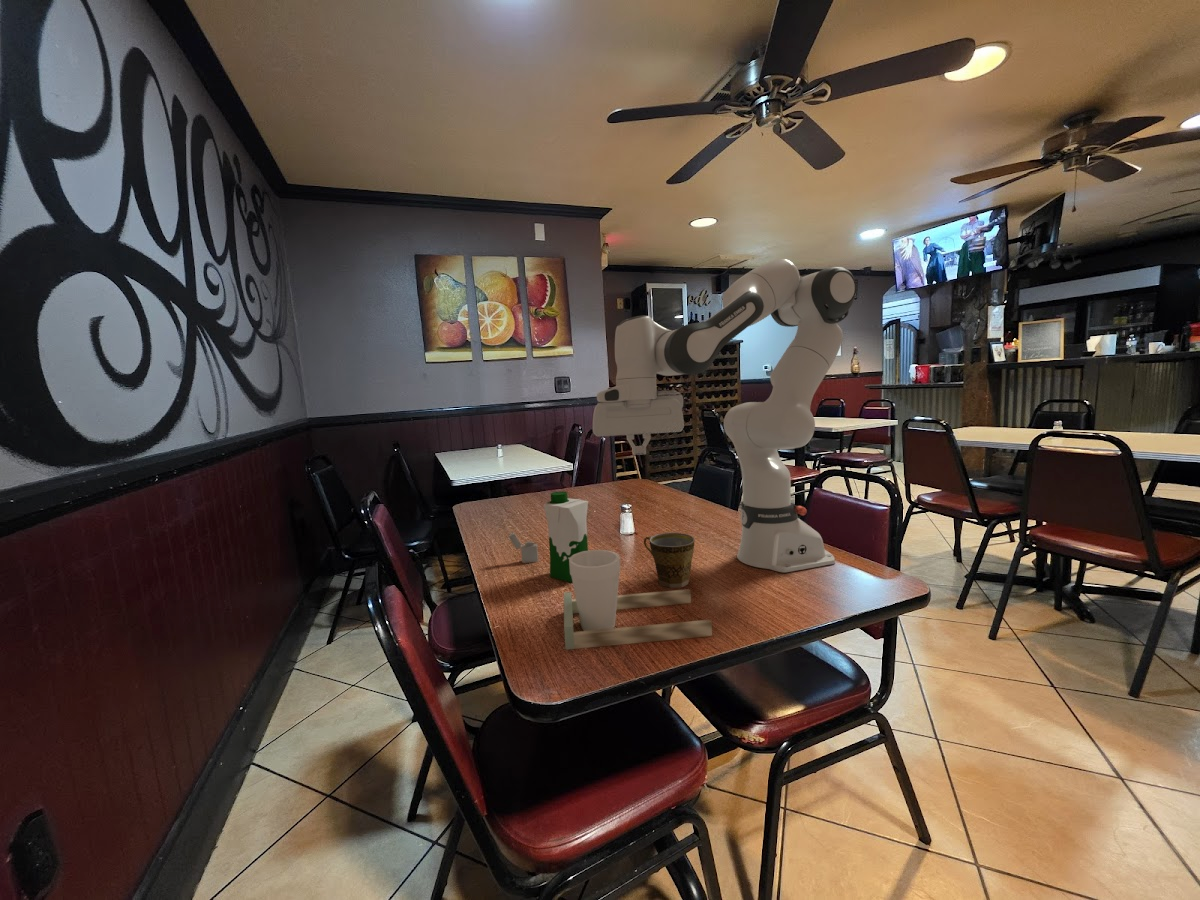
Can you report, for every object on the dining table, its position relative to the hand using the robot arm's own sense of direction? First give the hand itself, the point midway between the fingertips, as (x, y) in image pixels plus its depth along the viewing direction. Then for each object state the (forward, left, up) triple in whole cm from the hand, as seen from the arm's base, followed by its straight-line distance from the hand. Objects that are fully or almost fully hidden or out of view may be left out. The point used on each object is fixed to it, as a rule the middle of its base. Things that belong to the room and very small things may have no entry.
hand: (639, 454), depth 103 cm
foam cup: (+12, +19, -29) cm, 37 cm away
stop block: (+18, +20, -29) cm, 39 cm away
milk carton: (+17, -6, -29) cm, 34 cm away
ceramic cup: (-5, +2, -29) cm, 30 cm away
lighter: (+29, -18, -29) cm, 45 cm away
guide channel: (+5, +20, -29) cm, 36 cm away
